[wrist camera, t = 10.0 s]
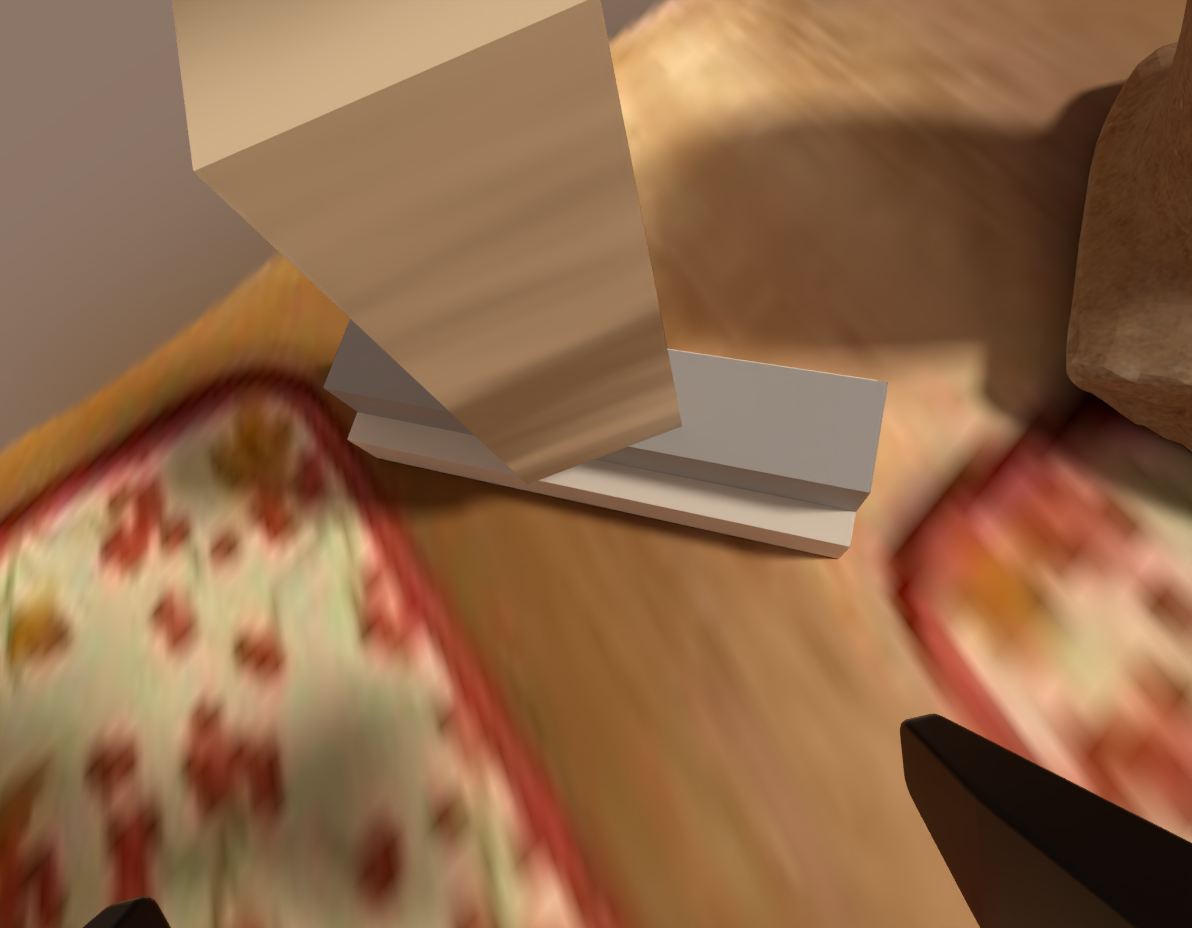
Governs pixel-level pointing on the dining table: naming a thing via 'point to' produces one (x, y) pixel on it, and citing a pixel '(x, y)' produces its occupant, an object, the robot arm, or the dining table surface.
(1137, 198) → the stone cup
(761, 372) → the ridge
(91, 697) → the dining table surface
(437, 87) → the post
